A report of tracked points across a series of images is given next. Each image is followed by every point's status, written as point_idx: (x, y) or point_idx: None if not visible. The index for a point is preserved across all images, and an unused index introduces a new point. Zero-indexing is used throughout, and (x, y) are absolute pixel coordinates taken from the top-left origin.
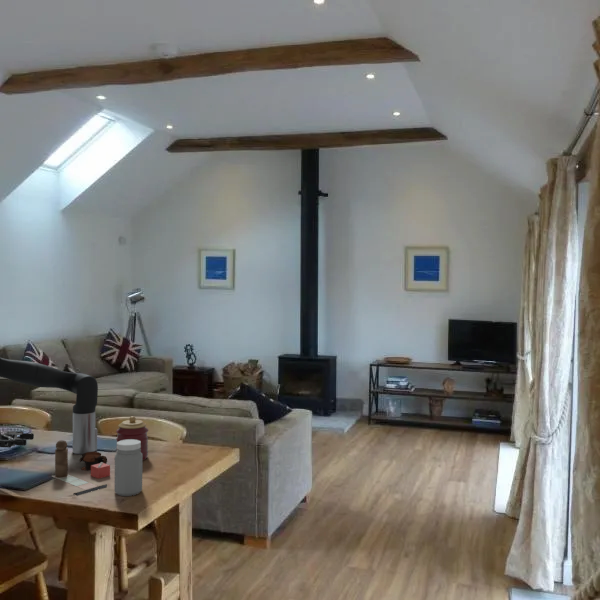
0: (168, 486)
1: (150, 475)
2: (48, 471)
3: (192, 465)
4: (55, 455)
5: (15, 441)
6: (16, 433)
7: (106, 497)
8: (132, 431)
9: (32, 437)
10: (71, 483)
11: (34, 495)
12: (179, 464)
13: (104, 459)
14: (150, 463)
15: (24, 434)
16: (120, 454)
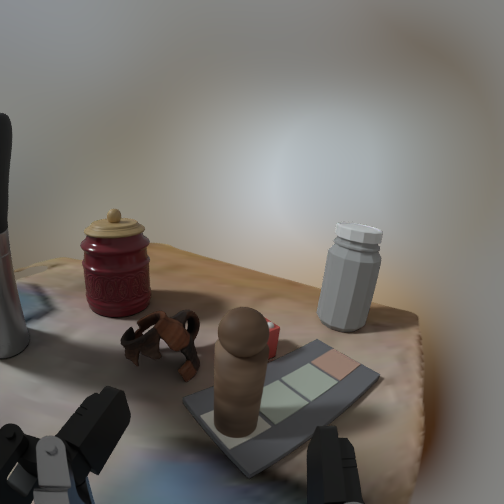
0: (306, 290)
1: (245, 298)
2: (126, 456)
3: (206, 267)
4: (251, 381)
5: (361, 497)
6: (71, 497)
7: (373, 341)
8: (142, 238)
9: (125, 410)
10: (317, 393)
11: (398, 461)
12: (194, 273)
13: (197, 316)
14: (170, 291)
15: (88, 441)
16: (377, 252)
